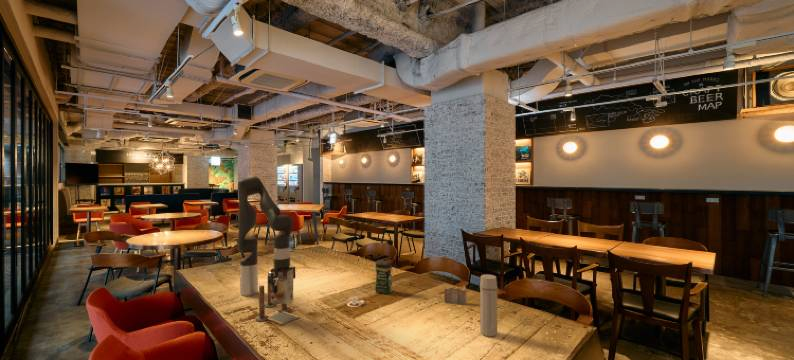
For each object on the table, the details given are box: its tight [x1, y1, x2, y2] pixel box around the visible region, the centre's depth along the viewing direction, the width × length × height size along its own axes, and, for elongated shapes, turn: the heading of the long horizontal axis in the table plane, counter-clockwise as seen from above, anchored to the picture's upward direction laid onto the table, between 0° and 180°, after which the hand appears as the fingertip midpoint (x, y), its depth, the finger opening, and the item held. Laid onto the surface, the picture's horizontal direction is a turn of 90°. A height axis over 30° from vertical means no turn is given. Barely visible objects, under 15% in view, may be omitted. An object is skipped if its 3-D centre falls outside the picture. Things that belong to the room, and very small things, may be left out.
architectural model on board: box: [444, 285, 467, 305], centre depth 192 cm, size 11×3×10 cm, turn 74°
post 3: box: [277, 304, 292, 313], centre depth 182 cm, size 6×6×16 cm
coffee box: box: [270, 266, 294, 305], centre depth 172 cm, size 9×6×16 cm
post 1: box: [254, 285, 270, 323], centre depth 172 cm, size 6×6×16 cm
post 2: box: [264, 275, 277, 309], centre depth 189 cm, size 6×6×16 cm
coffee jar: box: [374, 259, 393, 295], centre depth 209 cm, size 10×8×19 cm
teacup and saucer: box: [346, 296, 365, 308], centre depth 190 cm, size 9×8×4 cm
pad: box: [266, 311, 300, 326], centre depth 172 cm, size 12×10×1 cm
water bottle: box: [479, 274, 500, 338], centre depth 153 cm, size 9×8×25 cm
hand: (282, 290), depth 172 cm, fingers closed on coffee box, 7 cm apart
